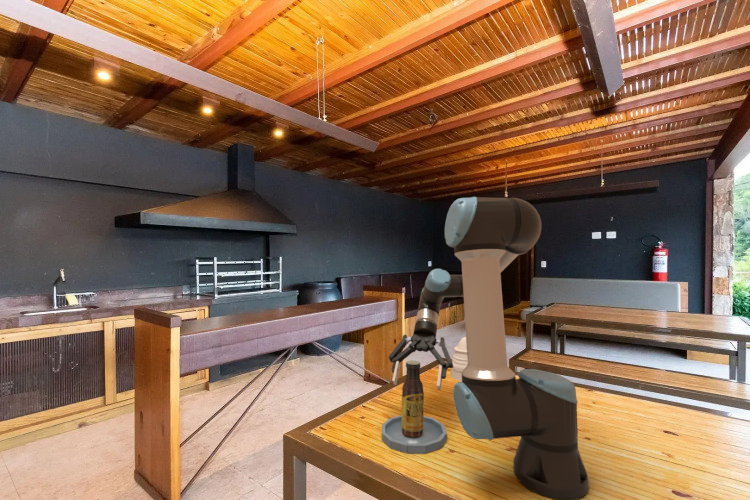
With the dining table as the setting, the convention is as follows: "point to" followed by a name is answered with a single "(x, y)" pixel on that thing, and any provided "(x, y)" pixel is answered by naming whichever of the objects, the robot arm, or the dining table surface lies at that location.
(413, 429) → the sauce bottle
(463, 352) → the honey pot
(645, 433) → the dining table surface
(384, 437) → the serving plate
